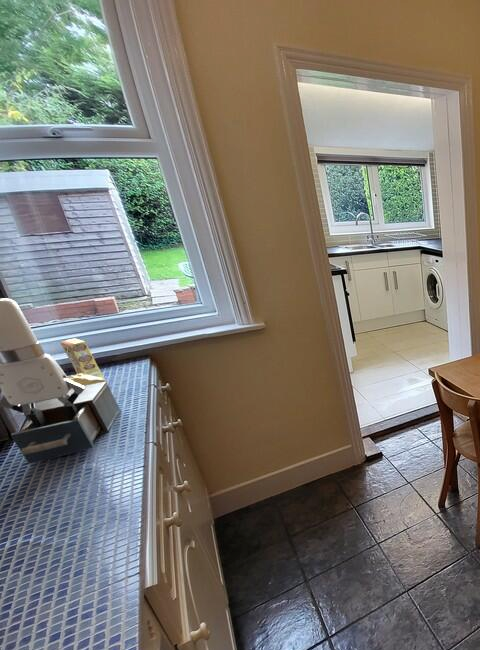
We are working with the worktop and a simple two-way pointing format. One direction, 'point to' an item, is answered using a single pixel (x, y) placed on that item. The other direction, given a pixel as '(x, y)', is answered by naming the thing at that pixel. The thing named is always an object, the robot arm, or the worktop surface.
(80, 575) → the worktop surface
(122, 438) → the worktop surface
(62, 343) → the candy box
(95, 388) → the cabinet
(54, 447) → the drawer
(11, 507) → the worktop surface
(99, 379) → the sculpture
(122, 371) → the worktop surface
